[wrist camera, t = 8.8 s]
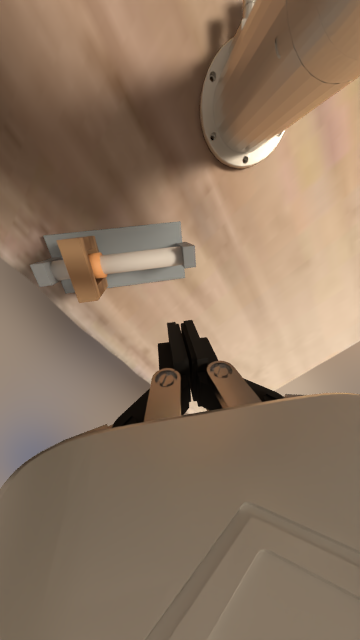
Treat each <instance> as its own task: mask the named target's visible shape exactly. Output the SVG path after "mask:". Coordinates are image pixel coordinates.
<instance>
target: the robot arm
mask: <svg viewBox="0 0 360 640" xmlns="http://www.w3.org/2000/svg"><path fill="white" fill-rule="evenodd" d="M242 11H243V19H242V21H241V24H240V26H239V28H238V30H237V32H236V35H235V37H233V38H231V39H230V40H229V41H227V42H226V43H225V44H224V45H223V46H222V47H221V48H220V50H219V51H218V53H217V54H216V55H215V57H214V59H213V61H212V63H211V65H210V67H209V69H208V71H207V74H206V77H205V80H204V83H203V88H202V92H201V99H200V120H201V126H202V131H203V135H204V138H205V141H206V143H207V145H208V147H209V149H210V150H211V152H212V153H213V154H214V156H215V157H216V158H217V159H218V160H219V161H221V162H222V163H223V164H225V165H227V166H229V167H233V168H247V167H251V166H253V165H255V164H257V163H259V162H260V161H262V160H263V159H265V158H266V157H267V156H268V155H269V154H270V153H271V152H272V151H273V150H274V149H275V147H276V146H277V145H278V143H279V142H280V140H281V138H282V136H283V134H284V132H285V129H287V128H288V127H290V126H291V125H292V124H294V123H295V122H297V121H298V120H299V119H301V118H302V117H304V116H305V115H306V114H308V113H309V112H311V111H312V110H313V109H315V108H316V107H318V106H319V105H320V104H322V103H323V102H325V101H326V100H327V99H329V98H330V97H332V96H333V95H334V94H336V93H337V92H338V91H340V90H341V89H343V88H344V87H345V86H347V85H348V84H350V83H351V82H352V81H354V80H355V79H357V78H358V77H359V76H360V0H243V9H242ZM210 79H211V80H212V82H211V81H210ZM210 137H212V138H213V141H212V140H211V138H210ZM242 160H244V163H243V161H242ZM167 327H168V336H169V342H167V343H159V344H158V355H159V371H157V372H156V373H155V374H154V375H153V377H152V381H151V386H150V389H149V390H148V391H147V392H146V393H144V394H143V395H142V396H141V397H140V398H139V399H138V400H137V401H136V402H135V403H134V404H133V405H131V406H130V407H129V408H128V409H127V410H126V411H125V412H124V413H123V414H122V415H121V416H120V417H119V418H118V419H117V420H116V421H115V422H114V424H113V425H110V426H108V425H107V424H106V425H103V426H100V427H98V428H95V429H93V430H90V431H87V432H85V433H82V434H79V435H77V436H74V437H71V438H69V439H66V440H63V441H62V442H60V443H58V444H55V445H54V446H51V447H50V448H48V449H46V450H44V451H42V452H40V453H39V454H37V455H35V456H34V457H32V458H31V459H29V460H28V461H26V462H25V463H24V464H22V465H21V466H20V467H19V468H18V469H17V470H16V471H15V472H14V473H13V474H12V475H11V476H10V477H9V478H8V479H7V481H6V482H5V483H4V484H3V486H2V487H1V489H0V640H360V394H352V393H323V394H312V395H291V394H285V397H283V396H282V395H280V394H279V393H277V392H275V391H272V390H270V389H267V388H265V387H263V386H260V385H258V384H256V383H253V382H251V381H248V380H246V379H244V378H242V376H241V375H240V374H239V373H238V371H237V370H236V369H235V368H234V367H233V366H232V365H231V364H230V363H228V362H225V361H218V359H217V357H216V355H215V353H214V351H213V349H212V347H211V345H210V343H209V340H208V339H207V337H205V338H200V337H199V335H198V333H197V330H196V328H195V326H194V323H193V321H192V320H188V321H184V323H181V330H180V327H179V324H176V323H175V322H172V323H167ZM181 332H182V334H181ZM190 389H191V393H192V397H193V401H197V403H198V407H200V406H202V407H204V408H206V409H207V411H205V412H199V413H193V414H187V415H184V413H185V412H186V411H187V410H188V408H189V402H191V393H190Z"/></svg>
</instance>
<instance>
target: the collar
mask: <svg viewBox="0 0 360 640" xmlns="http://www.w3.org/2000/svg"><path fill="white" fill-rule="evenodd" d="M56 241H57V244H58V246H59V249H60V252H61V255H62V257H63V260H64V263H65V266H66V268H67V271H68V274H69V277H70V279H71V282H72V285H73V288H74V290H75V293H76V296H77V298H78V301H79V303H83V302H90V301H97V300H99V298H100V297H101V295H102V294H103V292H104V291H105V289H106V288H107V287H108V283H107V279H106V277H104V278H97V279H95V276H94V273H93V270H92V266H91V263H90V260H89V256H88V254H91V253H99V250H98V246H97V243H96V239H95V236H86V237H77V238H70V239H62V240H56Z"/></svg>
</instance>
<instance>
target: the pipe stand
mask: <svg viewBox="0 0 360 640" xmlns="http://www.w3.org/2000/svg"><path fill="white" fill-rule="evenodd" d="M86 236H95V239H96V243H97V246H98V250H99V253H91V254H88V256H89V260H90V263H91V266H92V270H93V273H94V276H95V279H97V278H104V277H106V279H107V283H108V287H107V288H112V287H119V286H127V285H134V284H142V283H149V282H157V281H165V280H172V279H180V278H185V272H184V268H191V267H196V260H195V246H194V245H192V244H189V243H187V242H182V235H181V223H180V222H170V223H160V224H151V225H141V226H131V227H122V228H112V229H102V230H93V231H83V232H74V233H64V234H54V235H45V236H43V237H44V239H45V242H46V244H47V247H48V249H49V252H50V255H51V257H52V258H50V259H47V260H44V261H40V262H37V263H34V264H31V265H30V267H31V269H32V271H33V273H34V276H35V278H36V280H37V282H38V284H39V287H42V286H50V285H54V284H55V283H57V282H59V281H60V280H61V283H62V285H63V288H64V290H65V293H74V292H75V290H74V288H73V285H72V282H71V279H70V277H69V274H68V271H67V268H66V266H65V263H64V260H63V257H62V255H61V252H60V249H59V246H58V244H57V241H56V240H62V239H70V238H77V237H86Z"/></svg>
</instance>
